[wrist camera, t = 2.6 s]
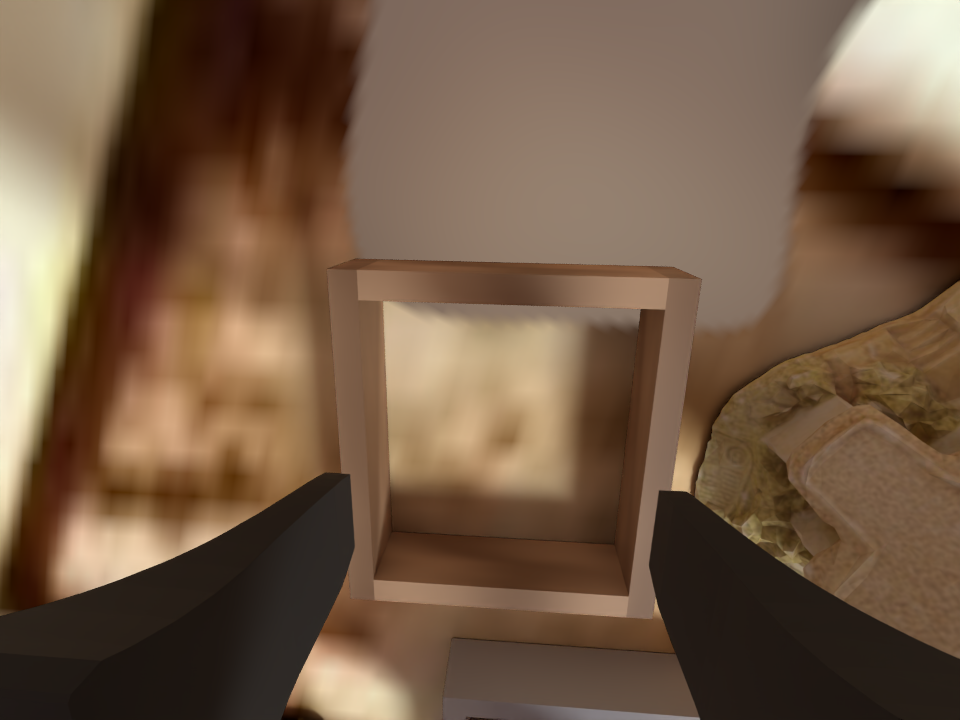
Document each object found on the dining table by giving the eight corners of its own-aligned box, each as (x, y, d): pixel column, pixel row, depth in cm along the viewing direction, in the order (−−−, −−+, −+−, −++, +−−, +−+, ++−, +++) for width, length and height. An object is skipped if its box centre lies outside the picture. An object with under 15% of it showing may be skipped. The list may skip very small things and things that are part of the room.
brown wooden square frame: (371, 548, 19) (350, 598, 17) (355, 258, 16) (326, 269, 13) (635, 565, 18) (652, 619, 16) (672, 266, 15) (701, 279, 13)
